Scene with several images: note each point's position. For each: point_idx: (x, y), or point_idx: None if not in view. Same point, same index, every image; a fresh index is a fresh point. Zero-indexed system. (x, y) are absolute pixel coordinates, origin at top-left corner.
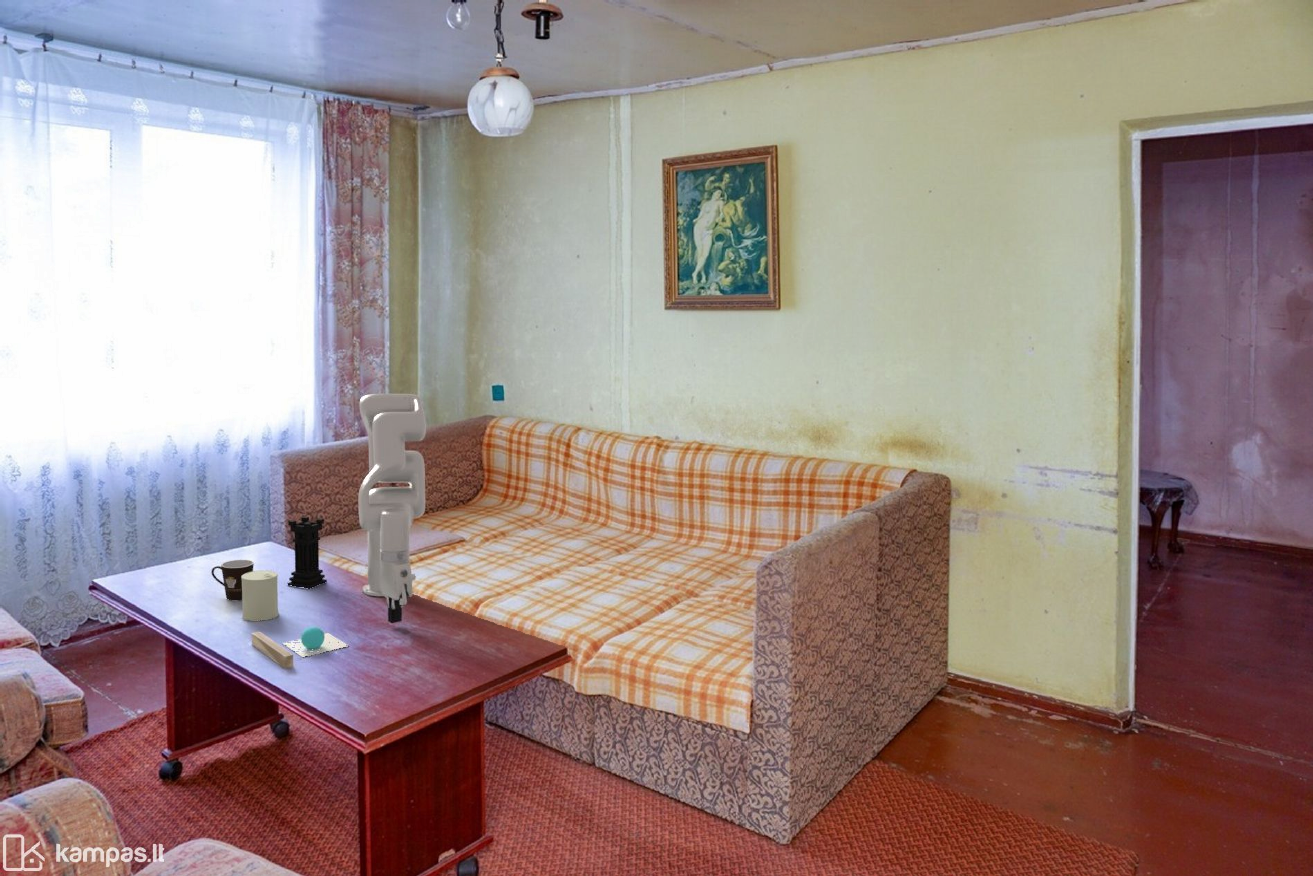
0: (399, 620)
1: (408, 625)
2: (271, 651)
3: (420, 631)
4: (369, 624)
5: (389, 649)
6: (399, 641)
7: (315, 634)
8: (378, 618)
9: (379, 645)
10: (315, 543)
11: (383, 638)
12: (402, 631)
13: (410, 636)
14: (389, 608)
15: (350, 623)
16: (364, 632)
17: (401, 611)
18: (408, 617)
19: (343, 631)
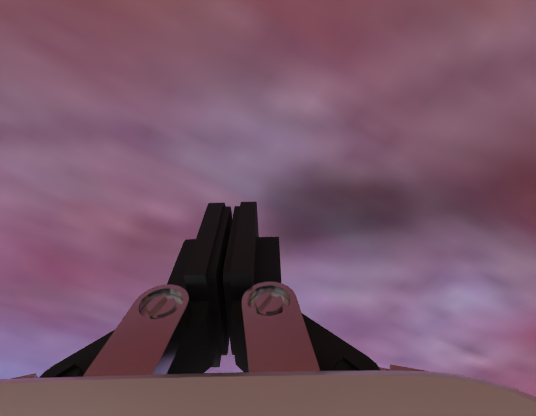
0: (256, 219)
1: (266, 132)
2: None
3: (440, 122)
4: (119, 303)
5: (519, 362)
6: (475, 294)
7: None
8: (23, 228)
9: (438, 371)
10: None
11: (371, 330)
12: (348, 217)
13: (463, 219)
14: (219, 359)
15: (62, 358)
16: (230, 358)
17: (252, 244)
18: (77, 35)
19: None
